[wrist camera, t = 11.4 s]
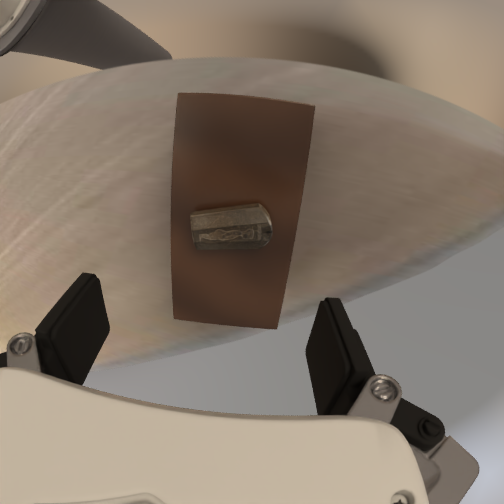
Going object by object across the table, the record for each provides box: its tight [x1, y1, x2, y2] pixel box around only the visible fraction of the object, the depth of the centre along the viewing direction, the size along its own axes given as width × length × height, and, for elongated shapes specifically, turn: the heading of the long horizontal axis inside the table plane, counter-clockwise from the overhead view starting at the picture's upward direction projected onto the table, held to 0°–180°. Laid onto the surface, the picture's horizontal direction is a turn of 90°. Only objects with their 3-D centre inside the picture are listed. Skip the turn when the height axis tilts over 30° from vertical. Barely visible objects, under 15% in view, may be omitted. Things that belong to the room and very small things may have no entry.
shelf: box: [171, 93, 315, 329], centre depth 26 cm, size 20×10×10 cm, turn 174°
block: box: [190, 203, 273, 250], centre depth 21 cm, size 4×6×2 cm, turn 95°
